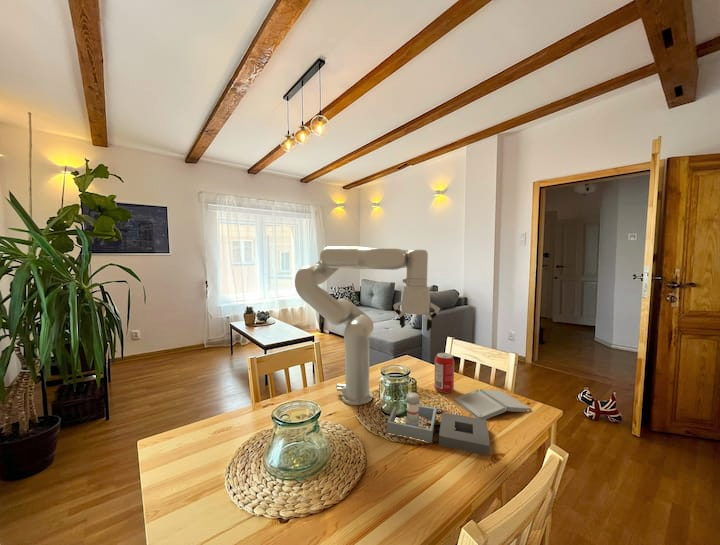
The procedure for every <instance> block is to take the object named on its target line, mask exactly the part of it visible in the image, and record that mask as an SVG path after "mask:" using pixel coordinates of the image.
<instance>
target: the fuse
mask: <svg viewBox="0 0 720 545" xmlns="http://www.w3.org/2000/svg"><path fill="white" fill-rule="evenodd" d="M405 399H406V400H405V402H406V403H407V408H406V411H407V416H406V424H407V425H412V426H417V427H418V425H419V405H420V395H419V393H416V392H408V393H407V394H406V398H405Z"/></svg>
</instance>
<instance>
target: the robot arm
mask: <svg viewBox="0 0 720 545" xmlns="http://www.w3.org/2000/svg"><path fill="white" fill-rule="evenodd" d="M428 258H429V254H428V251H427V250H426V249H409V250H408V249H400V248H385V247H384V248H380V247H379V248H373V247H365V246H335V245H333V246H332V245H331V246H326V247H324V248H323V249H322V250H321V252H320V254H319V260H318V262H316V263H315V264H309V265H305V266H302V267H300V268H299V269H298V270H297V272H296V274H295V277H294V286H295V290H296V291H295V292H297V294H298V296H299V297H300V299H302V300H303V301H304V302H305V303H306V304H307V305H309V306H310V307H312V309H313V310H315V312H317V313H318V314H319V315H320V316H321V317H323V318H324V319H325V320H326V321H327V322H328V323H329V324H331V325H333V326H335V327H336V326H341V325H344V326H345V327H344V331H343V340H344V342H343V343H344V354H345V355H344V356H345V357H344V358H345V359H344V360H345V361H344V362H345V364H344V365H345V366H344V368H345V369H344V370H345V371H344V372H345V373H344V374H345V376H344V377H345V380H344V381H345V383H344V384H342V383H337V384H336V386H335V388H336V391H337V392H342V393H341V400H342V401H343V402H344V403H345V404H348V405H350V406H361V405H360V404H365V403H368V402H369V401H371V400H372V398H373V399H374V394H373V392H372V391H371V390H370V343H369V342H370V336H371V334H372V333H373V331H374V322H373V320H372V318H371V317H370V316H369V315H368V314H366V312H365V311H363V310H362V309H360V308H359V307H358V306H357V305H355V304H354V303H353V302H352V301H350V300H348V299H346V298H338V299H336V298H335V297H334V296H333V295H331V294H330V293H329V292H328V291H326V290H325V289H323V288H322V287H320V286H319V285H321V284H323V283H325V282H326V281H328V280H329V279H330V278H331V277H332V276H333V275H334V274H335V273H336V272H337V271H338V270H340V269H352V270H353V269H354V270H357V269H359V270H369V269H370V270H385V271H386V270H389V271H390V270H391V271H393V270H394V271H396V270H399V269H404V268H406V277H405V278H404V279H402V283H403V284H405V285H404V286H403V290H402V296H401V301H399V302H397V303H394V304H393V305H392V307H393V309H394V311H395V313H396V314H397V315H398V317H399V325H400V328H401V329H404V327H406V316H405V314H408V315H409V314H410V315H422V316H424V315H425V316H426V318H427V320H426V331H428V332H429V331H430V329H432V327H433V326H432V325H433V319H435V317H436V316H438V313H439V312H440V311H441V308H440V307H439V306H437V305H436V304H434V303H432V302H431V295H430V288H429V286H428V284H427V283H428V261H429V260H428ZM400 306H401V307H400ZM399 307H400V308H401V310H400V309H399ZM431 309H433V310H434V312H433V313H432V314H431ZM372 401H373V400H372ZM372 401H371V402H372ZM368 404H369V403H368ZM365 405H366V404H365Z"/></svg>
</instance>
